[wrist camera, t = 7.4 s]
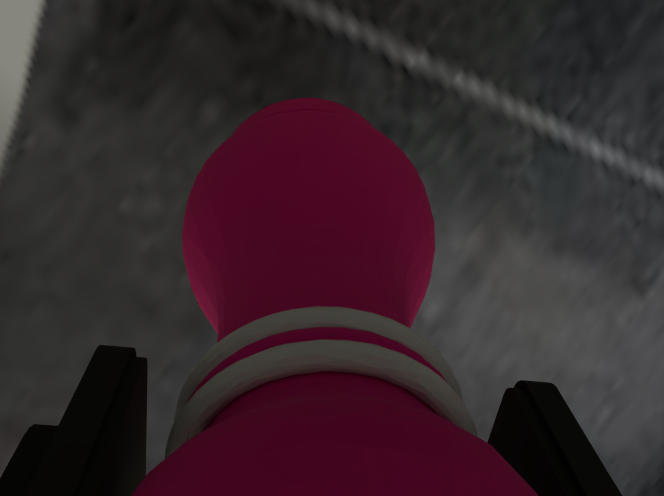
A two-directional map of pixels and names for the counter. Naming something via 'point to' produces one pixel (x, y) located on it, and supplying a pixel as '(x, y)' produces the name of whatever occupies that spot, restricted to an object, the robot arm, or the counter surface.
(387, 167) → the pepper mill
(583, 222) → the counter surface
